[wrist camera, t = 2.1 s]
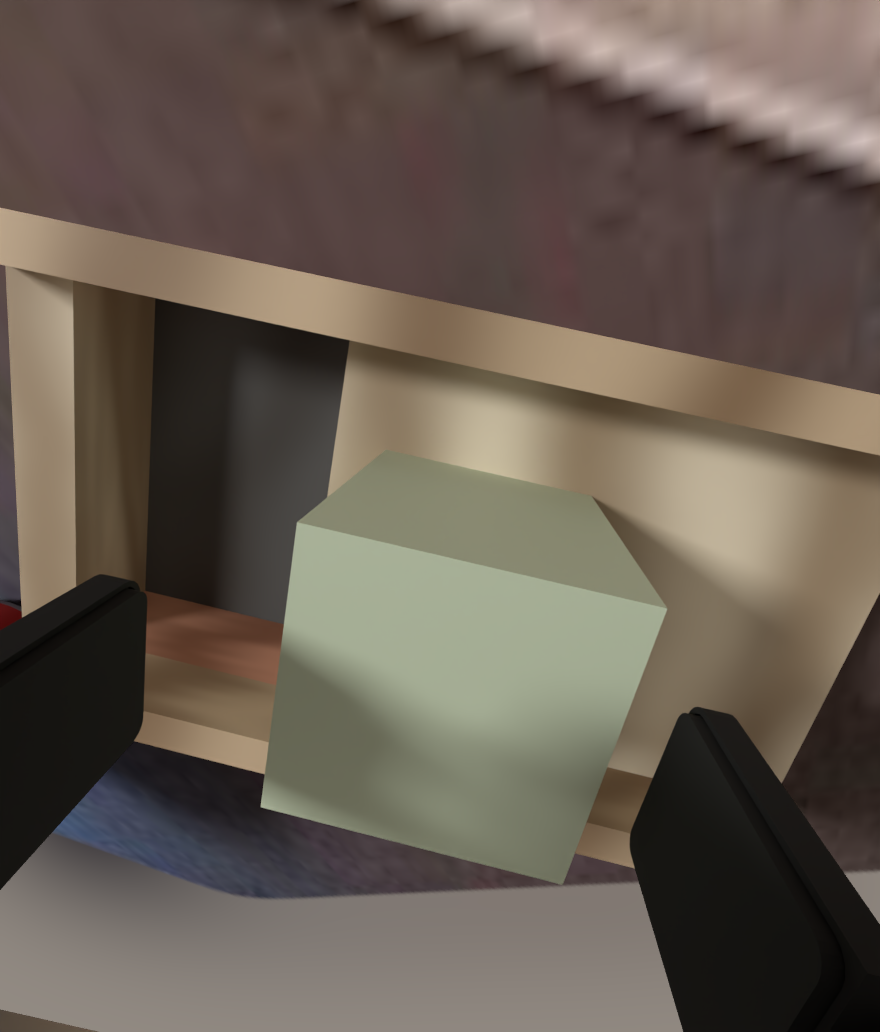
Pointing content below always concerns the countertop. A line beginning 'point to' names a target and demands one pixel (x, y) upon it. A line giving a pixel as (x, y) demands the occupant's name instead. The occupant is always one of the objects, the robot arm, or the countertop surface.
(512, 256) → the countertop surface
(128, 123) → the countertop surface
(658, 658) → the channel track
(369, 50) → the countertop surface
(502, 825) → the sage block
